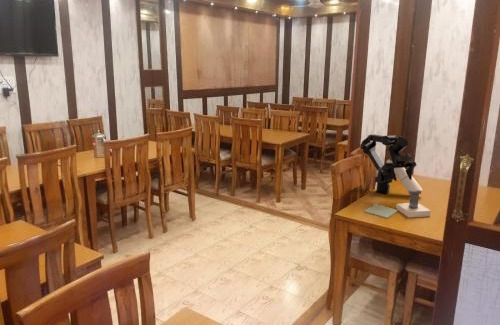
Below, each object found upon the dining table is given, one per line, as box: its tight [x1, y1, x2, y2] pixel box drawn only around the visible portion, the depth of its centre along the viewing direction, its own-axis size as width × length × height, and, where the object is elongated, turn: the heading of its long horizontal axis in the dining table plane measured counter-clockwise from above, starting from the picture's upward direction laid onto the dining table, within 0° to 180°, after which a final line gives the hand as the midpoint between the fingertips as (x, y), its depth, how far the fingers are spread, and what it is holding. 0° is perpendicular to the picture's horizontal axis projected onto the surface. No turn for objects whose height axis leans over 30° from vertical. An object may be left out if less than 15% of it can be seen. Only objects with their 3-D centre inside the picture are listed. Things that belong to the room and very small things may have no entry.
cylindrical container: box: [385, 158, 423, 193], centre depth 230 cm, size 7×7×25 cm
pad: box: [363, 204, 399, 219], centre depth 206 cm, size 13×13×1 cm
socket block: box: [395, 202, 431, 219], centre depth 204 cm, size 12×12×3 cm
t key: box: [408, 190, 422, 209], centre depth 203 cm, size 3×6×12 cm, turn 99°
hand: (403, 180), depth 215 cm, fingers open, 9 cm apart
